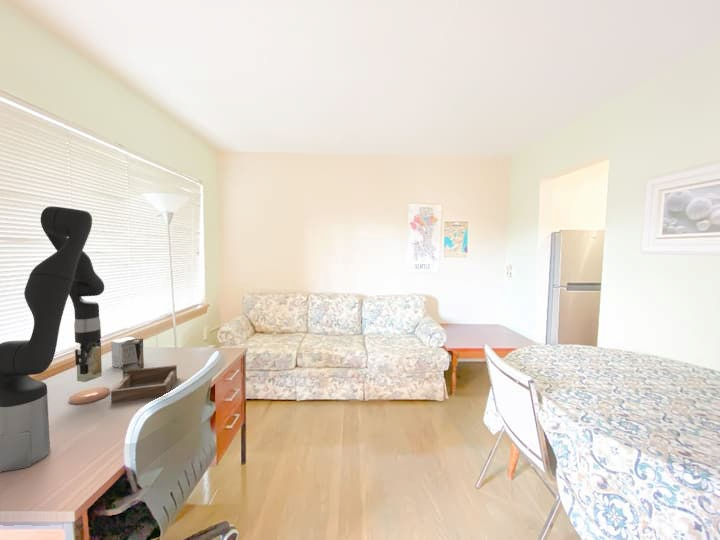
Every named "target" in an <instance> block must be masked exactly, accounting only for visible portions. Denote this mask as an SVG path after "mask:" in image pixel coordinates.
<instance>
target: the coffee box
mask: <svg viewBox="0 0 720 540" xmlns="http://www.w3.org/2000/svg"><path fill="white" fill-rule="evenodd" d="M144 360H145V359H144V338H136V339H133V340H127V341H126V342H125V343H124V344H123V345H122V364H123V367H122V380H123V379H124V378H125V377H126V376H127V375H128V370H132V369H142V368H145V365H144V363H145V362H144Z"/></svg>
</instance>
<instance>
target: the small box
mask: <svg viewBox="0 0 720 540" xmlns="http://www.w3.org/2000/svg"><path fill="white" fill-rule="evenodd" d="M133 339H137V338H136V337H132V336H127V337H123V338H118V339H114V340H111V341H110V345H111V346H110V347H111V348H110V349H111V365H112V367H113V366H115V368H117V367H119V369H122V368H123V364H122V345H123V344H124V343H125V342H126V341H127V340H133ZM121 367H122V368H121Z"/></svg>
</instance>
